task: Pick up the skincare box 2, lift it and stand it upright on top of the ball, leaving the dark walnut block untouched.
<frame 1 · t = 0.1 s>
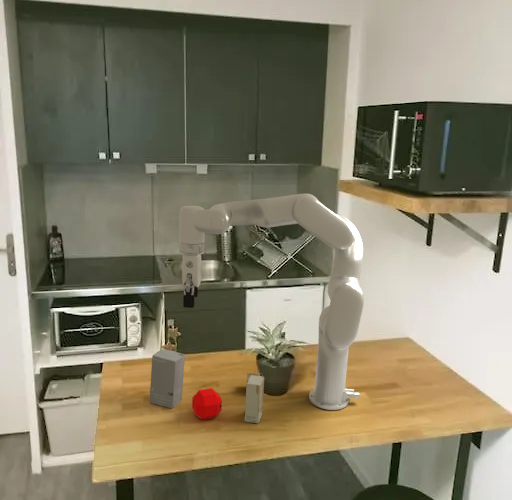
hand: (190, 301, 160), 31 cm above the table, tool pointing down, fingers open, 9 cm apart
skincare box 2: (253, 417, 156), on the table
skincare box: (167, 401, 163), on the table
walnut block: (253, 391, 172), on the table
ball: (206, 415, 156), on the table
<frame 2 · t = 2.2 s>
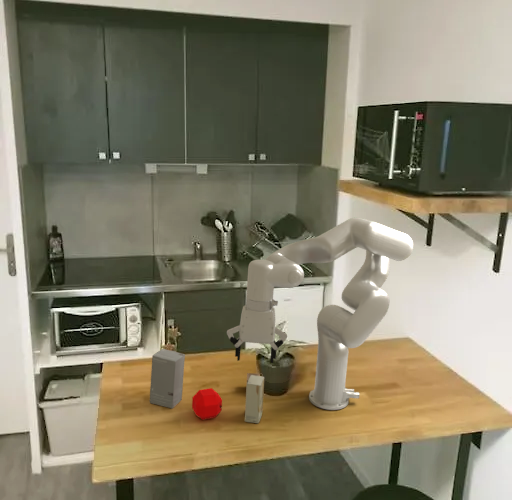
hand: (255, 359, 152), 19 cm above the table, tool pointing down, fingers open, 9 cm apart
nothing on the table moved.
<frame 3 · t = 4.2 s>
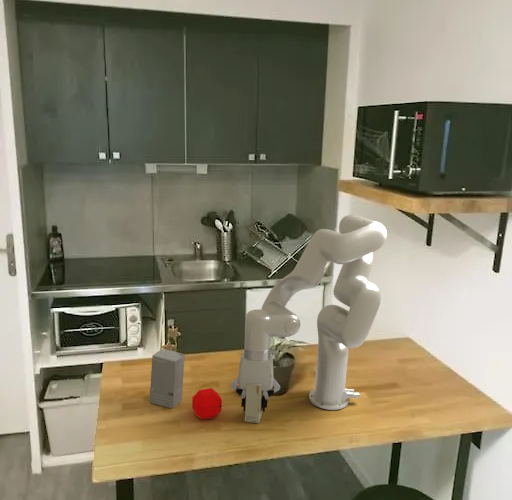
hand: (254, 408, 156), 3 cm above the table, tool pointing down, fingers closed on skincare box 2, 5 cm apart
skincare box 2: (253, 417, 156), on the table, touching gripper
everything else where it was.
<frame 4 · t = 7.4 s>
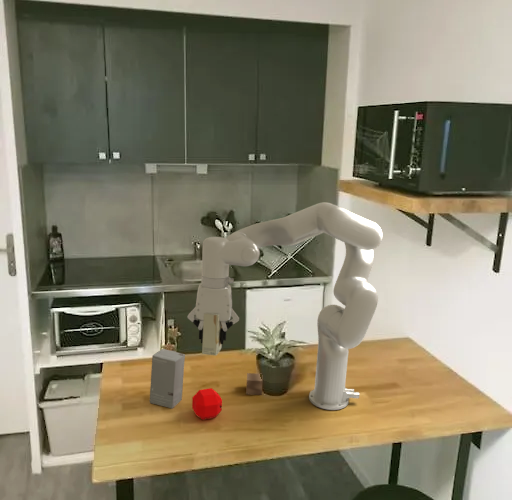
hand: (212, 341, 151), 24 cm above the table, tool pointing down, fingers closed on skincare box 2, 5 cm apart
skincare box 2: (212, 351, 151), point 21 cm above the table, touching gripper
everything else where it was.
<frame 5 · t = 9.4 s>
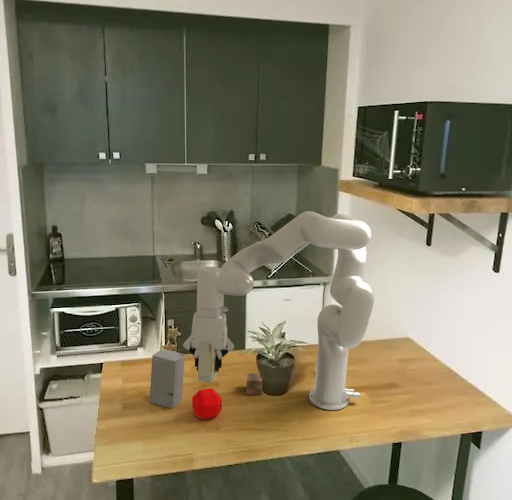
hand: (208, 368, 153), 15 cm above the table, tool pointing down, fingers closed on skincare box 2, 5 cm apart
skincare box 2: (207, 378, 153), point 12 cm above the table, touching gripper
everything else where it was.
when the fingers open (12 cm above the table, at t = 11.0 s): skincare box 2 drops 1 cm, resting on ball.
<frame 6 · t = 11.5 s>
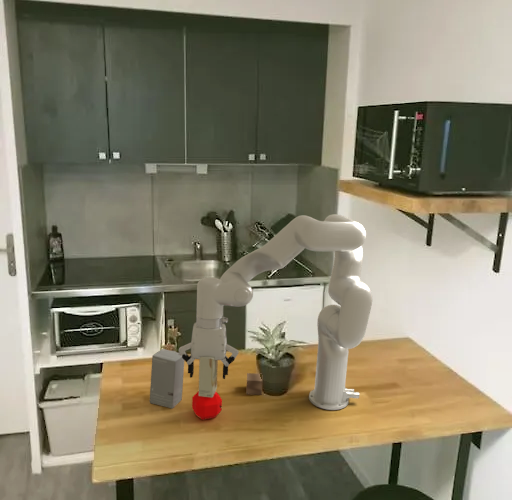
hand: (207, 376, 153), 13 cm above the table, tool pointing down, fingers open, 9 cm apart
skincare box 2: (207, 392, 155), point 7 cm above the table, touching ball
ball: (206, 415, 156), on the table, touching skincare box 2
everything else where it was.
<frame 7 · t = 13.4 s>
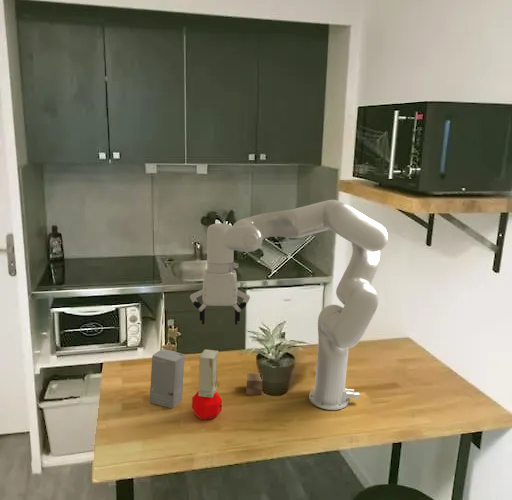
hand: (219, 322, 154), 28 cm above the table, tool pointing down, fingers open, 9 cm apart
nothing on the table moved.
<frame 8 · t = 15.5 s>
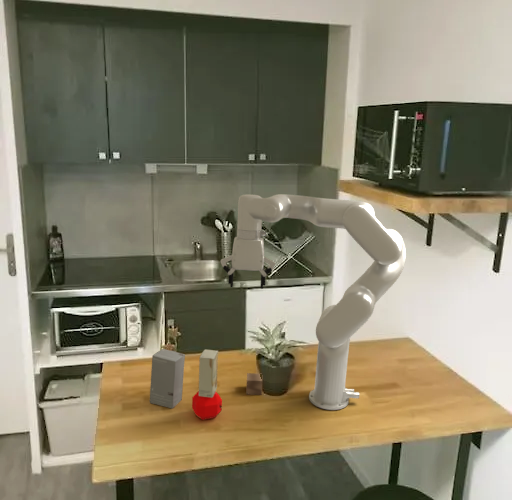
hand: (246, 286, 168), 34 cm above the table, tool pointing down, fingers open, 9 cm apart
nothing on the table moved.
at the end: skincare box 2 0.2 cm off-centre on the ball, point 7.6 cm above the ball's base; skincare box 2 tilted 0°; the gripper is holding nothing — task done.
